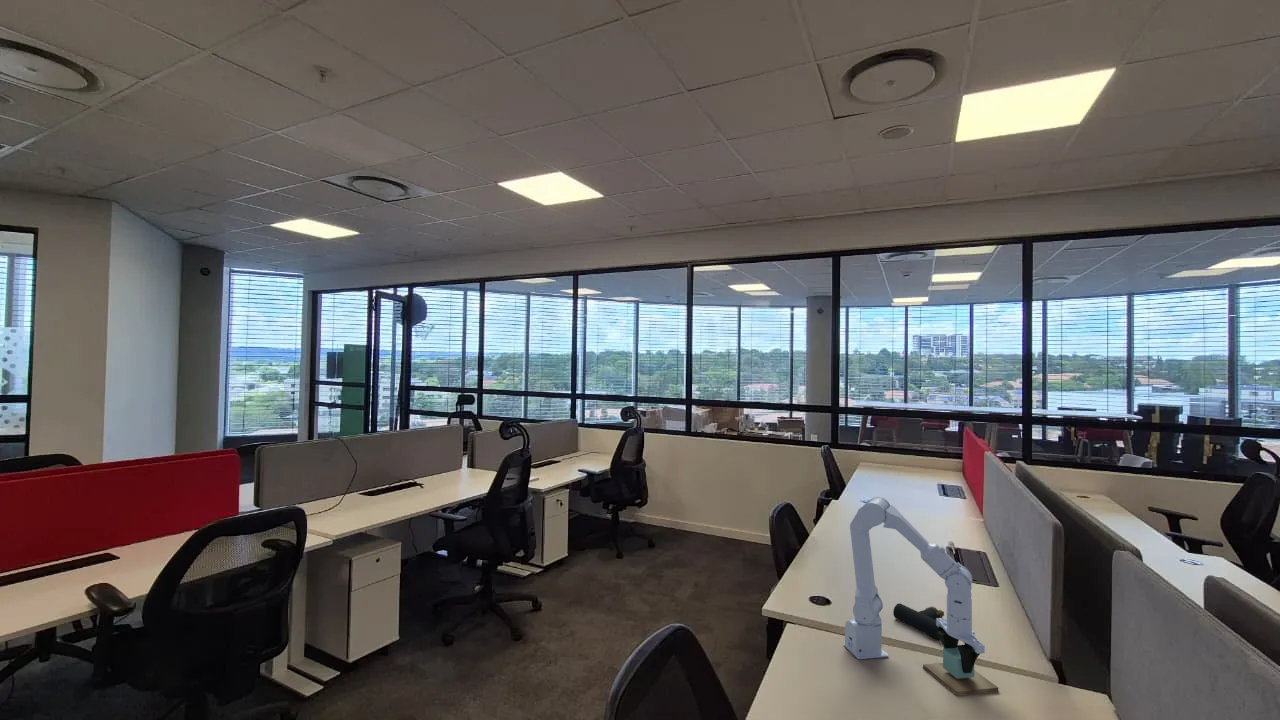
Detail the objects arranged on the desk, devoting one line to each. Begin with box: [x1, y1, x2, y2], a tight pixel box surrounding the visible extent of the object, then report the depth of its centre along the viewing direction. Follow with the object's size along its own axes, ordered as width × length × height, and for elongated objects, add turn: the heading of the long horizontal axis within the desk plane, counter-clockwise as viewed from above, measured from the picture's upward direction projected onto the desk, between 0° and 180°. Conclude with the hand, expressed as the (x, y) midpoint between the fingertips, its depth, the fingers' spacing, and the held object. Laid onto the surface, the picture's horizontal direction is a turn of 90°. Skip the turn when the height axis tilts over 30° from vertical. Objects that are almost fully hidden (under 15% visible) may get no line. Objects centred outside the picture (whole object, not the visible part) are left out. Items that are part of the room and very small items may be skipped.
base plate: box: [922, 662, 999, 697], centre depth 136 cm, size 12×12×4 cm
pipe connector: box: [892, 602, 945, 641], centre depth 164 cm, size 12×5×15 cm
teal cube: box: [942, 648, 975, 679], centre depth 136 cm, size 5×5×5 cm
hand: (959, 666), depth 136 cm, fingers closed on teal cube, 5 cm apart
